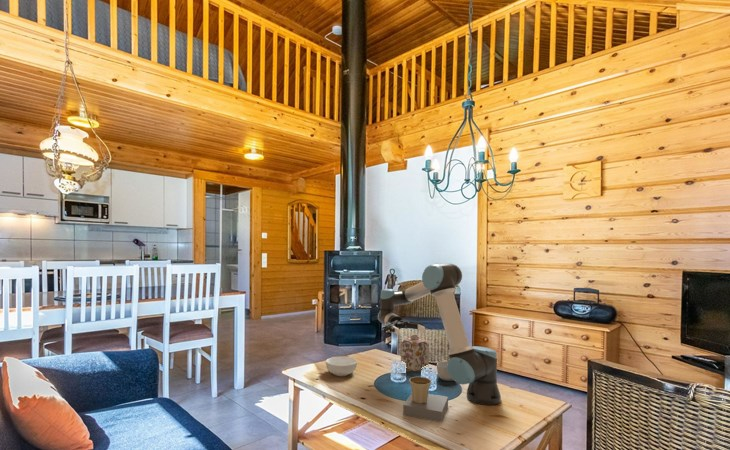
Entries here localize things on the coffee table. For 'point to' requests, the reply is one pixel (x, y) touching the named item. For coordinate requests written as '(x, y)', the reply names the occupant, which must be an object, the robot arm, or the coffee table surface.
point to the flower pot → (420, 389)
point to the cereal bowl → (341, 365)
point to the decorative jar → (415, 352)
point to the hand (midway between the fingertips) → (411, 331)
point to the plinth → (427, 407)
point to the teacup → (443, 371)
